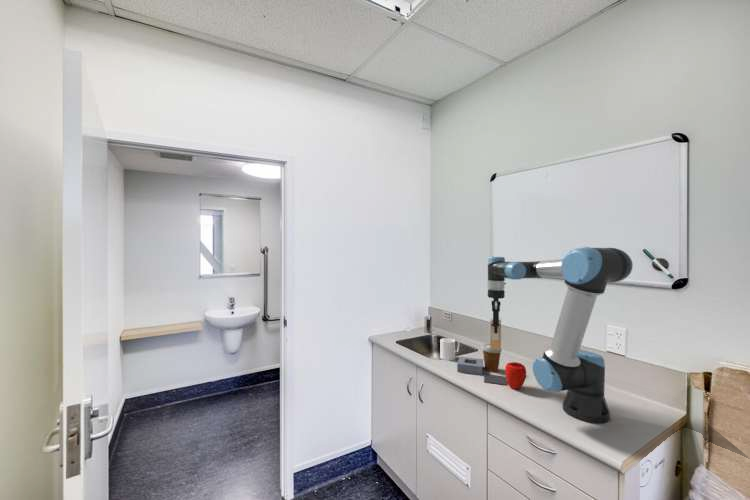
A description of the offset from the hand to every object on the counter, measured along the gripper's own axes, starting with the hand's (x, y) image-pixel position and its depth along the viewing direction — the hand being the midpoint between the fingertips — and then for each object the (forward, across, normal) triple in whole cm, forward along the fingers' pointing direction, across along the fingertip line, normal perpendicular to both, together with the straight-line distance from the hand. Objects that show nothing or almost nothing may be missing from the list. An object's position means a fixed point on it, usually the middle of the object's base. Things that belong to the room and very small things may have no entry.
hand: (495, 338), depth 154 cm
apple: (+20, -6, -8) cm, 22 cm away
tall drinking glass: (+5, 0, 0) cm, 5 cm away
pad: (+20, 0, 0) cm, 20 cm away
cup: (+20, +25, +24) cm, 40 cm away
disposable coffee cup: (+20, +13, +2) cm, 24 cm away
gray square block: (+20, +10, +12) cm, 25 cm away
